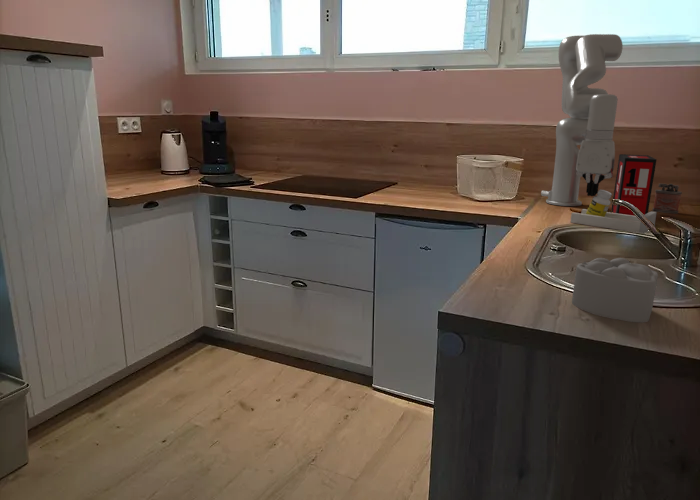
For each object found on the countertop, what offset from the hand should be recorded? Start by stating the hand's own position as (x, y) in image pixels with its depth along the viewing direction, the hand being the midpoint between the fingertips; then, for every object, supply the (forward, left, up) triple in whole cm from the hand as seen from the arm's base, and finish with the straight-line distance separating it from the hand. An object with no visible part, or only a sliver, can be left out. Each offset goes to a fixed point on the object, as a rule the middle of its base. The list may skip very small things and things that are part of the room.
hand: (591, 195), depth 171 cm
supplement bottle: (+1, 0, -8) cm, 8 cm away
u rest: (+6, 0, -9) cm, 11 cm away
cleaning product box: (+6, +20, -9) cm, 23 cm away
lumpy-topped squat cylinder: (+30, -77, -9) cm, 83 cm away
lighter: (+13, +39, -9) cm, 42 cm away
